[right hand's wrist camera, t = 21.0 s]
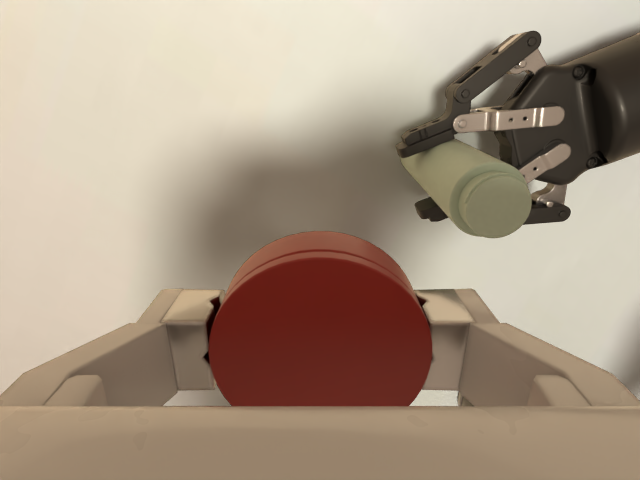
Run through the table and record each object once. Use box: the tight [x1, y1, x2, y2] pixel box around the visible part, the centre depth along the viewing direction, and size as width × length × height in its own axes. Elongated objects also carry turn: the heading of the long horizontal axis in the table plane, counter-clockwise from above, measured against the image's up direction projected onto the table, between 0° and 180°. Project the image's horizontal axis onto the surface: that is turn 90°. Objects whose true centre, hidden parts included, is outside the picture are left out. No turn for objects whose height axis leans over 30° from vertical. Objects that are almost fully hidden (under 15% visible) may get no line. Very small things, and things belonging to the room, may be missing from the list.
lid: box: [208, 231, 432, 406], centre depth 9 cm, size 5×5×2 cm
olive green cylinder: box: [400, 139, 532, 238], centre depth 27 cm, size 4×4×16 cm
